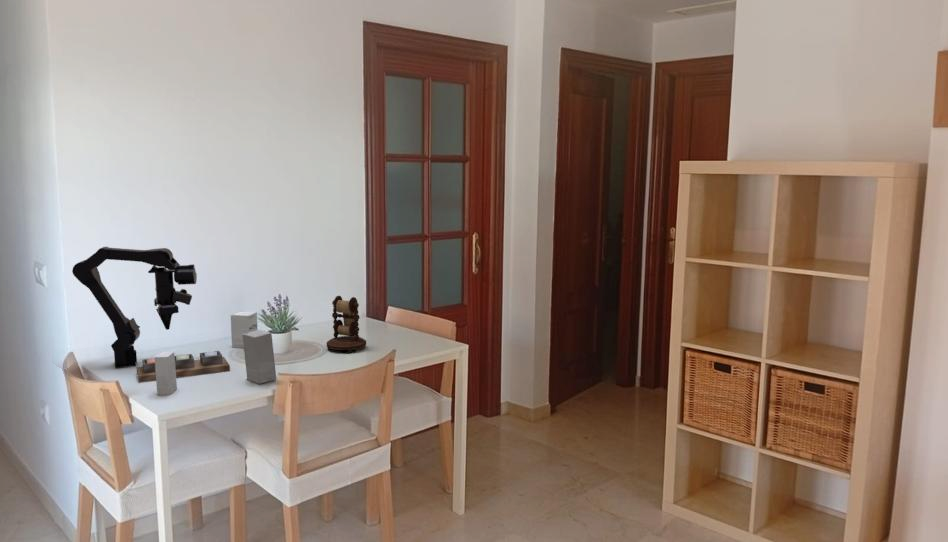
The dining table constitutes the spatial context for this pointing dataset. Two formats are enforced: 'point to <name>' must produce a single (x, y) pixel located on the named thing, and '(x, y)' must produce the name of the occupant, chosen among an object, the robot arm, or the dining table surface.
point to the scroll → (346, 326)
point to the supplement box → (242, 326)
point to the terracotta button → (151, 360)
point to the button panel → (187, 367)
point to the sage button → (182, 357)
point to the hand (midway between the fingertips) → (167, 329)
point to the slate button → (210, 354)
